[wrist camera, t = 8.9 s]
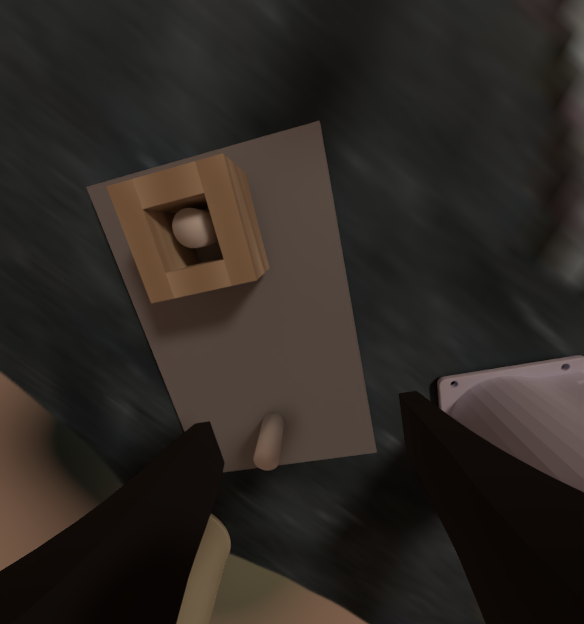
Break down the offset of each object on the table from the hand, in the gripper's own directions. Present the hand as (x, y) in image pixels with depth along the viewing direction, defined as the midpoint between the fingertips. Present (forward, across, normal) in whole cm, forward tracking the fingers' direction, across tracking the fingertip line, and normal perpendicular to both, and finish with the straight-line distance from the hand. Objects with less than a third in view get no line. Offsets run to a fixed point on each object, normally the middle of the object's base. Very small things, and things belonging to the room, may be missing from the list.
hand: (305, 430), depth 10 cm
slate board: (+9, +4, -1) cm, 10 cm away
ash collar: (+7, +4, -8) cm, 12 cm away
